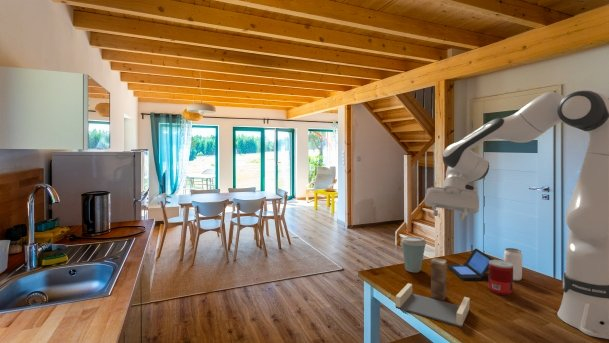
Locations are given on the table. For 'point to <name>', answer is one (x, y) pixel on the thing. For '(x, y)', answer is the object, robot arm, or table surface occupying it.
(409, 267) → the disposable coffee cup
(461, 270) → the handheld game console
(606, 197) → the robot arm
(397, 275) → the table surface
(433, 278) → the walnut block
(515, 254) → the can
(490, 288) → the canned food
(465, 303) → the rubber mat with end rails
